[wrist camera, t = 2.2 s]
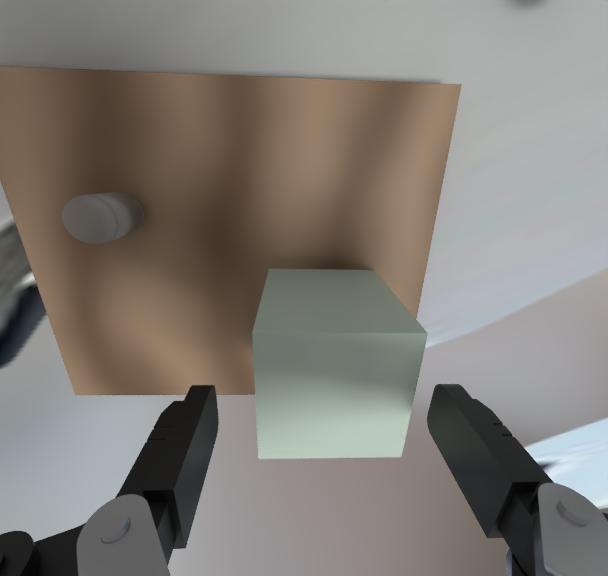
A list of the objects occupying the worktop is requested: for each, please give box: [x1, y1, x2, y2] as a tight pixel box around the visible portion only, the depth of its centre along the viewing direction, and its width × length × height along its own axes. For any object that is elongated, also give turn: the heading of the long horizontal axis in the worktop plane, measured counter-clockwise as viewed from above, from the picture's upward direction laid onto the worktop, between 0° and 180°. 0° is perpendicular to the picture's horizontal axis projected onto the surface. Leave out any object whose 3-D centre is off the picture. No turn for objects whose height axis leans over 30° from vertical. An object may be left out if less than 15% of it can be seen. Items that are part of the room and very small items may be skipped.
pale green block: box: [252, 269, 428, 459], centre depth 14 cm, size 6×6×7 cm
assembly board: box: [0, 66, 461, 395], centre depth 15 cm, size 22×18×6 cm
